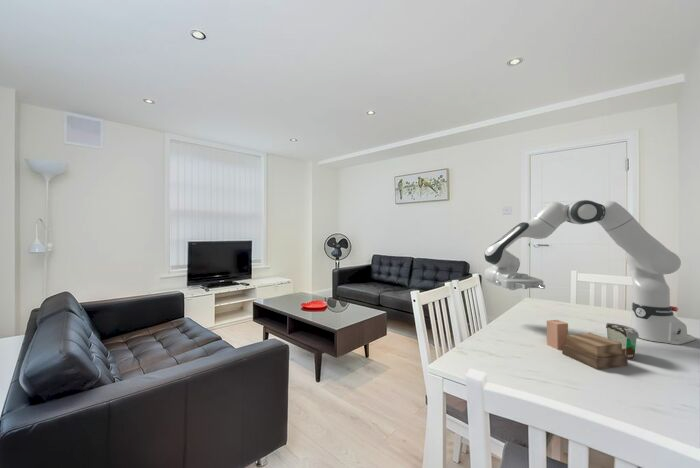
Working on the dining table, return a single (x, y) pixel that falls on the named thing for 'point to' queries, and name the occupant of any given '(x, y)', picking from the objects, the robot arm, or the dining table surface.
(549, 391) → the dining table surface
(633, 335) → the food container
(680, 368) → the dining table surface
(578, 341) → the tower top
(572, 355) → the tower base
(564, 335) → the pillar
